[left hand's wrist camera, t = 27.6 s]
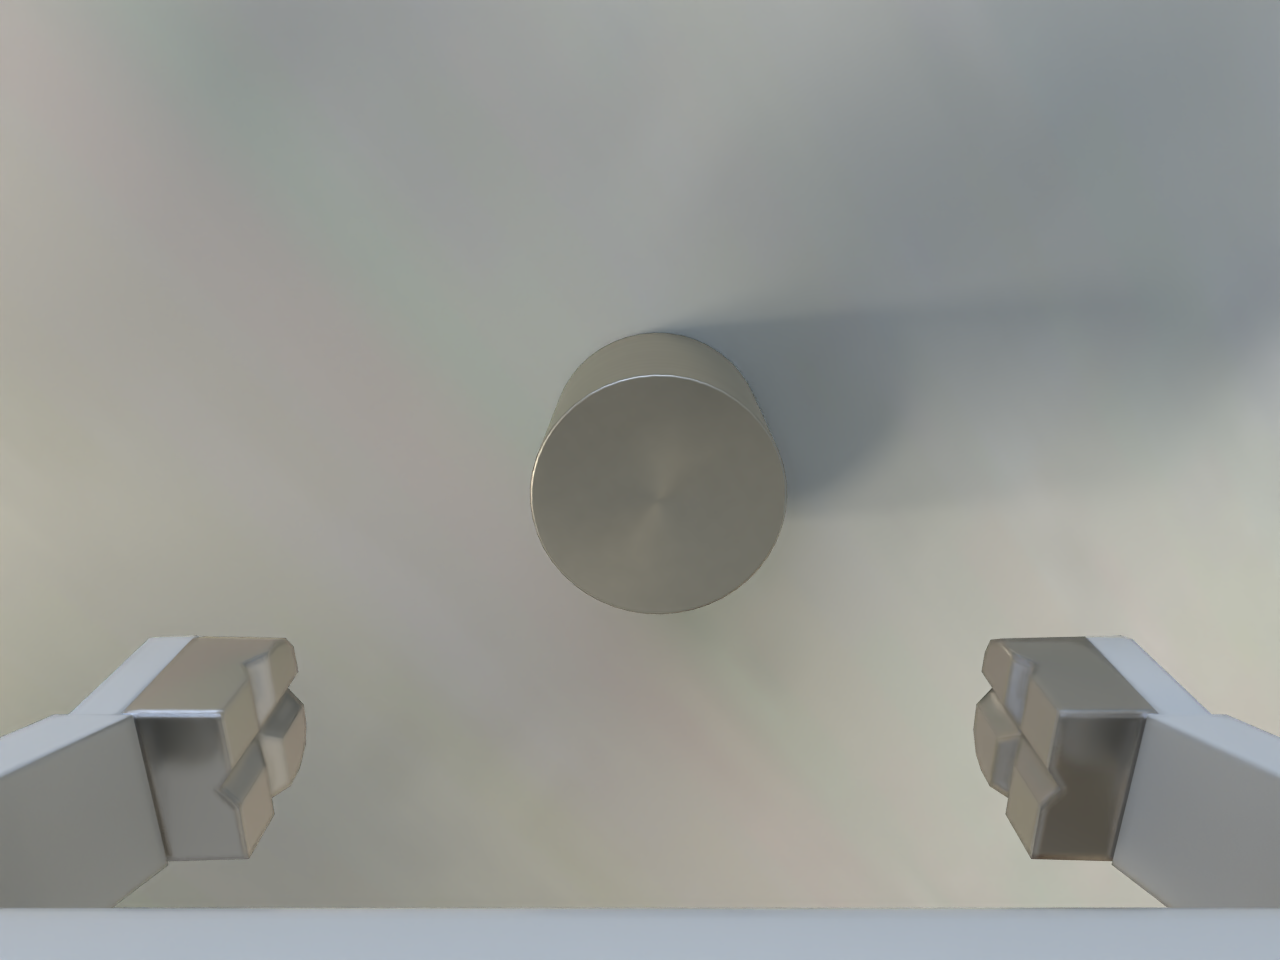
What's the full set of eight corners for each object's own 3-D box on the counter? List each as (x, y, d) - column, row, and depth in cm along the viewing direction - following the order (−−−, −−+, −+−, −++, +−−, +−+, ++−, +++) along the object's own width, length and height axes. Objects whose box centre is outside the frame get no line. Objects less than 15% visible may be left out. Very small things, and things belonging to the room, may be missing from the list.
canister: (642, 567, 22) (640, 658, 18) (510, 421, 21) (476, 484, 17) (801, 449, 21) (838, 517, 17) (672, 287, 20) (678, 319, 16)
